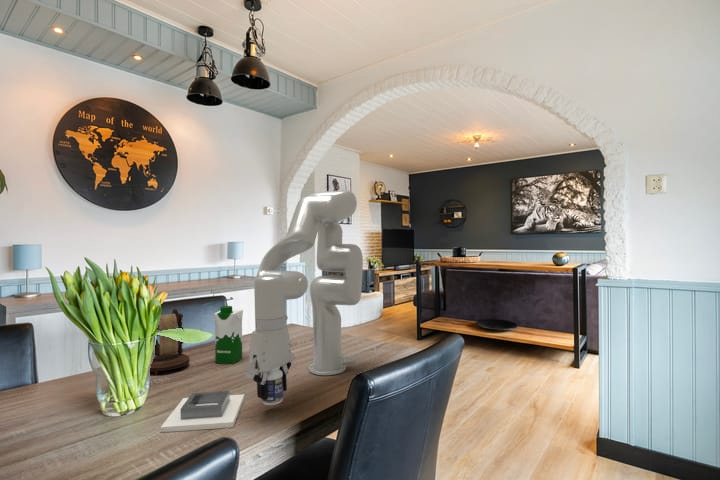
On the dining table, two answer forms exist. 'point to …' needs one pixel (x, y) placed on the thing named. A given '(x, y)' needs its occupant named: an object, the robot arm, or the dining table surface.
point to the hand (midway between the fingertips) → (272, 393)
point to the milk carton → (228, 335)
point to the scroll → (169, 346)
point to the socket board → (225, 421)
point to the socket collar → (205, 410)
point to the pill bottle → (274, 387)
